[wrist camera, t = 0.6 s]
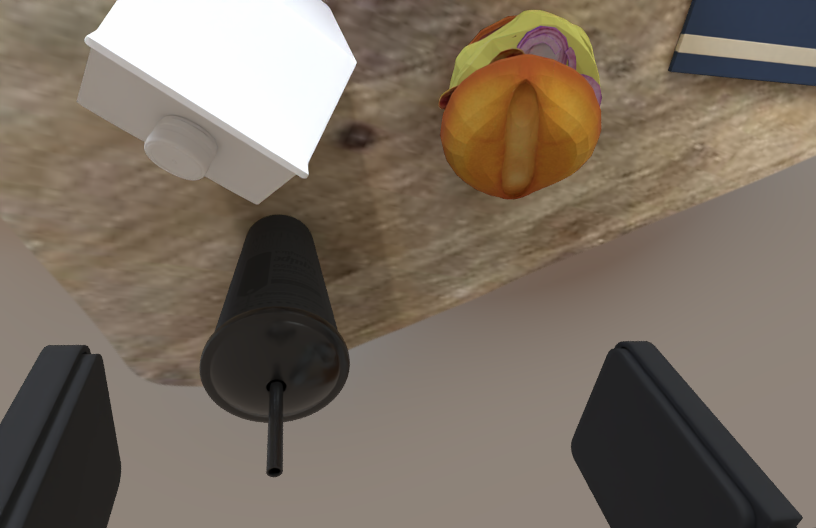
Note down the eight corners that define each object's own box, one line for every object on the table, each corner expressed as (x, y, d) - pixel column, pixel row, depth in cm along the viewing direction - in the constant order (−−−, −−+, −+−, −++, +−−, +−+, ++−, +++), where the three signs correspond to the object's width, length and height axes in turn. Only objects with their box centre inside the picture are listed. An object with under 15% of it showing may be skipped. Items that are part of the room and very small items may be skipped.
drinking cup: (209, 269, 40) (155, 514, 24) (246, 179, 38) (214, 387, 21) (307, 300, 43) (321, 537, 27) (349, 219, 40) (393, 429, 24)
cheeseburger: (615, 90, 39) (665, 164, 31) (486, 170, 43) (503, 253, 36) (546, -37, 34) (586, 16, 26) (406, 69, 38) (406, 141, 30)
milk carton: (221, -81, 30) (146, -83, 14) (331, 7, 33) (371, 88, 17) (158, 32, 32) (31, 142, 16) (266, 104, 35) (250, 256, 19)
